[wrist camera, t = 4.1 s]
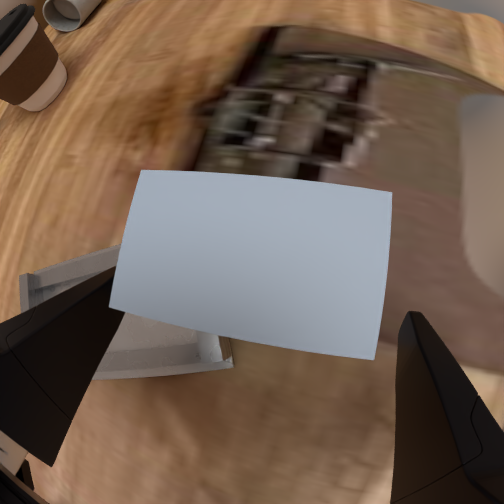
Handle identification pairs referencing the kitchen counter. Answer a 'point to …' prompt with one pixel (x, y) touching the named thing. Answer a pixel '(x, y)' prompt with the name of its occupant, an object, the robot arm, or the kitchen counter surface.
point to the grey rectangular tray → (131, 327)
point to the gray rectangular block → (258, 259)
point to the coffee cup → (28, 62)
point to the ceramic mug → (68, 13)
